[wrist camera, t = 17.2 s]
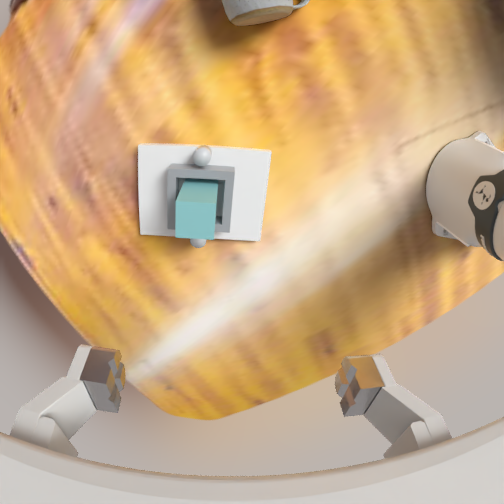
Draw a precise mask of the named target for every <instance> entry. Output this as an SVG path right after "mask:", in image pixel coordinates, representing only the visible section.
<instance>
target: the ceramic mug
mask: <svg viewBox="0 0 504 504" xmlns="http://www.w3.org/2000/svg"><path fill="white" fill-rule="evenodd" d="M309 1H310V0H301V2H300V3H299V4H298V5H293V0H222V3H223V6H224V9H225V13H226V15H227V17H228V19H229V20H230V22H231V23H232V24H234V25H236V26H246V25H254V24H260V23H265V22H269V21H274V20H278V19H281V18H284V17H287V16H289V15H290V14H291V13H292V11H293V10H295V9H298V8H301V7H303V6H305V5H306V4H308V2H309Z"/></svg>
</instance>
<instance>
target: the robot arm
mask: <svg viewBox="0 0 504 504" xmlns="http://www.w3.org/2000/svg"><path fill="white" fill-rule="evenodd" d="M426 197H427V202H428V206H429V209H430V211H431V214H432V231H433V233H434V234H436V235H437V236H440V237H446V238H452V239H457V240H459V241H461V242H462V243H463V244H464V245H466V246H468V247H469V246H470V245H471V246H474V247H483V248H484V249H485V250H486V251H487V252H488V253H489V254H490V255H491V256H493V257H495V258H496V259H498V260H500V261H504V152H503V151H501V150H499V149H497V148H496V147H495V146H494V145H493V143H492V142H491V140H490V139H489V138H488V136H487V135H486V134H485V133H484V132H482V131H477V132H476V133H474V134H473V135H471V136H470V137H469V138H465V139H458V140H455V141H452V142H451V143H449V144H448V145H446V146H445V147H444V148H443V149H442V150H441V151H440V152H439V153H438V155H437V156H436V158H435V159H434V161H433V163H432V165H431V168H430V171H429V174H428V178H427V184H426ZM120 360H121V353H120V351H119V350H114V349H108V348H102V347H96V346H89V345H83V344H81V345H80V346H79V347H78V349H77V351H76V353H75V356H74V358H73V361H72V363H71V365H70V368H69V371H68V373H67V375H66V377H61V378H60V379H59V380H57V381H56V382H55V383H53V384H52V385H50V386H49V387H48V388H46V389H45V390H44V391H42V392H41V393H40V394H38V395H37V396H36V397H34V398H33V399H32V400H31V401H29V402H27V403H26V404H25V405H23V406H22V407H21V408H20V409H19V412H18V414H17V417H16V420H15V422H14V425H13V428H12V430H11V433H10V436H9V435H7V434H4V433H1V432H0V504H504V417H502V418H500V419H498V420H496V421H494V422H492V423H490V424H487V425H485V426H483V427H480V428H478V429H476V430H473V431H471V432H468V433H466V434H463V435H461V436H458V437H455V438H452V437H451V435H450V433H449V430H448V428H447V426H446V424H445V422H444V420H443V417H442V415H441V414H440V413H438V412H437V411H436V410H434V409H433V408H431V407H430V406H429V405H427V404H426V403H425V402H423V401H422V400H420V399H419V398H418V397H416V396H415V395H413V394H412V393H411V392H409V391H408V390H407V389H405V388H404V387H403V386H401V385H397V384H396V382H395V380H394V378H393V375H392V373H391V371H390V369H389V368H388V365H387V363H386V361H385V359H384V357H383V355H381V354H375V355H361V356H348V357H345V358H344V359H343V361H342V363H341V364H342V368H341V369H340V370H338V372H337V374H336V377H335V386H336V387H335V388H336V392H337V394H338V395H339V396H341V397H342V400H341V402H340V405H341V408H342V411H343V415H344V417H345V416H355V415H363V414H364V416H365V417H366V418H367V419H368V420H369V421H370V422H371V423H372V424H373V425H374V426H375V427H376V428H377V429H378V430H379V431H380V432H381V433H382V434H383V435H384V436H385V437H386V438H387V439H388V440H389V441H390V442H391V443H392V446H391V447H390V448H389V449H388V450H387V451H386V452H385V453H384V458H385V459H382V460H377V461H373V462H368V463H363V464H358V465H353V466H348V467H342V468H335V469H330V470H322V471H314V472H306V473H296V474H284V475H270V476H240V477H239V476H237V477H236V476H235V477H234V476H230V477H229V476H197V475H182V474H171V473H161V472H153V471H145V470H137V469H132V468H125V467H120V466H114V465H109V464H104V463H99V462H95V461H90V460H86V459H82V458H78V457H77V455H78V452H77V450H76V449H75V448H74V446H73V445H72V444H71V443H70V441H69V439H70V438H71V437H72V436H73V435H74V434H75V433H76V432H77V431H78V430H79V429H80V428H81V427H82V426H83V425H84V424H85V423H86V422H87V421H88V420H89V419H90V418H91V416H92V415H93V414H94V413H95V412H96V411H97V410H102V411H108V412H115V413H118V410H119V406H120V401H121V396H120V394H119V392H120V391H121V390H123V388H124V384H125V368H124V365H123V364H122V363H121V362H120Z"/></svg>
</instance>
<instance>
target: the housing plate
mask: <svg viewBox="0 0 504 504" xmlns="http://www.w3.org/2000/svg"><path fill="white" fill-rule="evenodd" d="M270 160H271V150H264V149H253V148H242V147H228V146H212V145H192V144H158V143H141V144H139V145H138V190H139V217H140V234H141V235H160V236H176V232H175V222H176V199H177V197H178V195H179V192H180V190H181V188H182V185H183V183H184V181H185V179H186V178H192V179H211V180H218V193H217V208H216V220H215V232H214V239H231V240H248V241H260V238H261V230H262V222H263V215H264V207H265V199H266V192H267V184H268V176H269V168H270ZM190 243H191V245H192V246H194V247H196V248H201V247H203V246H204V245H205V244H206V239H192V238H190Z"/></svg>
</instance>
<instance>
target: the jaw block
mask: <svg viewBox="0 0 504 504" xmlns="http://www.w3.org/2000/svg"><path fill="white" fill-rule="evenodd" d="M217 193H218V180H211V179H192V178H186V179H185V181H184V183H183V185H182V188H181V190H180V192H179V195H178V197H177V199H176V222H175V232H176V238H192V239H209V240H214V232H215V220H216V208H217Z"/></svg>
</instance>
